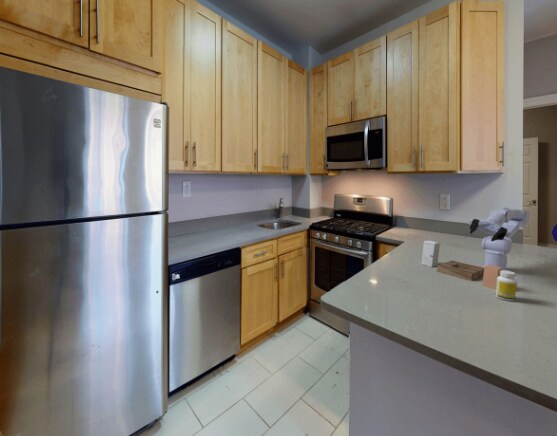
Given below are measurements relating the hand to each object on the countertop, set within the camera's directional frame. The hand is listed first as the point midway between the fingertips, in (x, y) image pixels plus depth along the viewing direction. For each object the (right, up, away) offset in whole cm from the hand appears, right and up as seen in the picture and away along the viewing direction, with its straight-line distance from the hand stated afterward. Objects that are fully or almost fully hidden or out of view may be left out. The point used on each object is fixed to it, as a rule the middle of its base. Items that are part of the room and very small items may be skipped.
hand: (481, 235), depth 107 cm
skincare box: (-8, -17, +24) cm, 30 cm away
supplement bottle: (-3, -22, -14) cm, 26 cm away
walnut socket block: (0, -18, +12) cm, 22 cm away
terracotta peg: (+1, -20, -3) cm, 21 cm away
